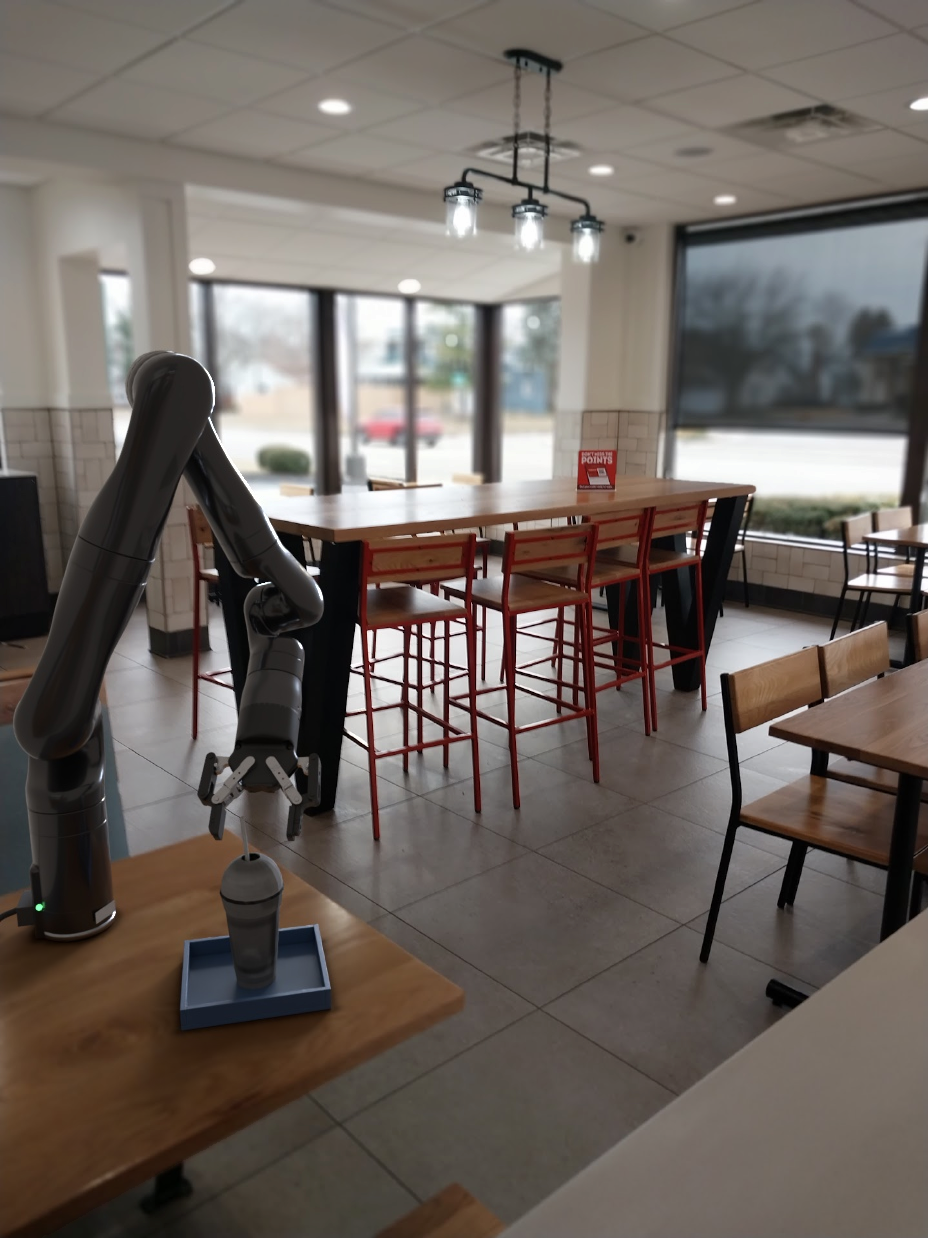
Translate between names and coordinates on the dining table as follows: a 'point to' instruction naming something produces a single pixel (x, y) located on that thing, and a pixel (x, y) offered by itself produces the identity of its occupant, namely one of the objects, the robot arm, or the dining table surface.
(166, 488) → the robot arm
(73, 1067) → the dining table surface
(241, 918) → the beverage cup
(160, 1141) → the dining table surface
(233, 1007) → the tray
